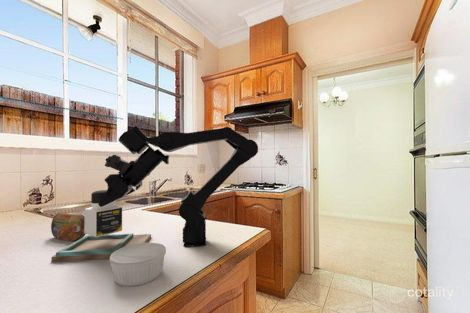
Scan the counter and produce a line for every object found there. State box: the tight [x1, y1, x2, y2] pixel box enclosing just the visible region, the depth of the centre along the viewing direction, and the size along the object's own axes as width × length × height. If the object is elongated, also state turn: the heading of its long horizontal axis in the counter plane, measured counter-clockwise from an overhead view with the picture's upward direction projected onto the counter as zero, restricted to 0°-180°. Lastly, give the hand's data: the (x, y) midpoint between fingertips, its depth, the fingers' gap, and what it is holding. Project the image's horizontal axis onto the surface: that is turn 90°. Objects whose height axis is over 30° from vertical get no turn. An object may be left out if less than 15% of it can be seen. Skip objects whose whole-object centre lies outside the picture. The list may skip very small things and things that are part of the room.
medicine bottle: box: [84, 189, 123, 237], centre depth 64 cm, size 7×7×12 cm
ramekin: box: [109, 242, 167, 287], centre depth 48 cm, size 11×11×5 cm
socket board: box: [50, 233, 152, 263], centre depth 64 cm, size 20×16×2 cm
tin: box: [50, 212, 87, 242], centre depth 73 cm, size 15×3×8 cm, turn 68°
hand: (104, 203), depth 64 cm, fingers closed on medicine bottle, 6 cm apart
